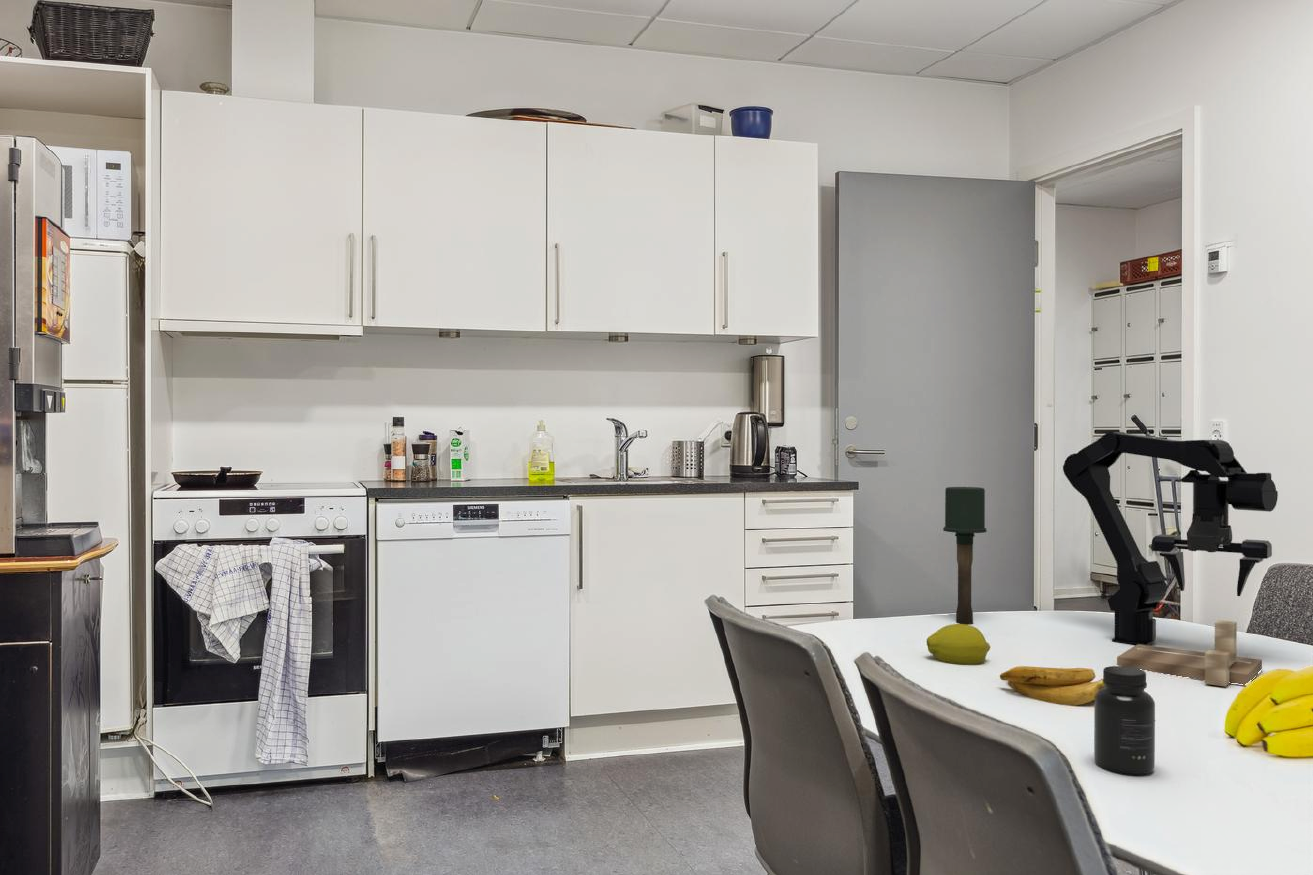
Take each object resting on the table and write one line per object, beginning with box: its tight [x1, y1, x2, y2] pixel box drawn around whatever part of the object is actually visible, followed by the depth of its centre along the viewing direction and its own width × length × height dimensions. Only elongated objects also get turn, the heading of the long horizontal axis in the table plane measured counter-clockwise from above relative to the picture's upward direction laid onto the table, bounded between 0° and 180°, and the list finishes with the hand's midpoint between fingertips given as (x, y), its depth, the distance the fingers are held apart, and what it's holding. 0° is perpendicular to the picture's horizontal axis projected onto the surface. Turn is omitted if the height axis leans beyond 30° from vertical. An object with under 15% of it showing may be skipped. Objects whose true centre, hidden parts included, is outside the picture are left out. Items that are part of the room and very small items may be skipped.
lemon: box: [926, 623, 991, 666], centre depth 175 cm, size 11×8×8 cm
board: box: [1116, 644, 1263, 685], centre depth 175 cm, size 20×14×2 cm
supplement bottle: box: [1093, 665, 1156, 776], centre depth 124 cm, size 7×7×12 cm
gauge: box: [1204, 619, 1238, 688], centre depth 168 cm, size 3×13×9 cm, turn 141°
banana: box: [999, 665, 1105, 707], centre depth 157 cm, size 15×19×6 cm
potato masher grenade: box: [942, 486, 987, 626], centre depth 207 cm, size 8×9×30 cm
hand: (1210, 593), depth 184 cm, fingers open, 9 cm apart
